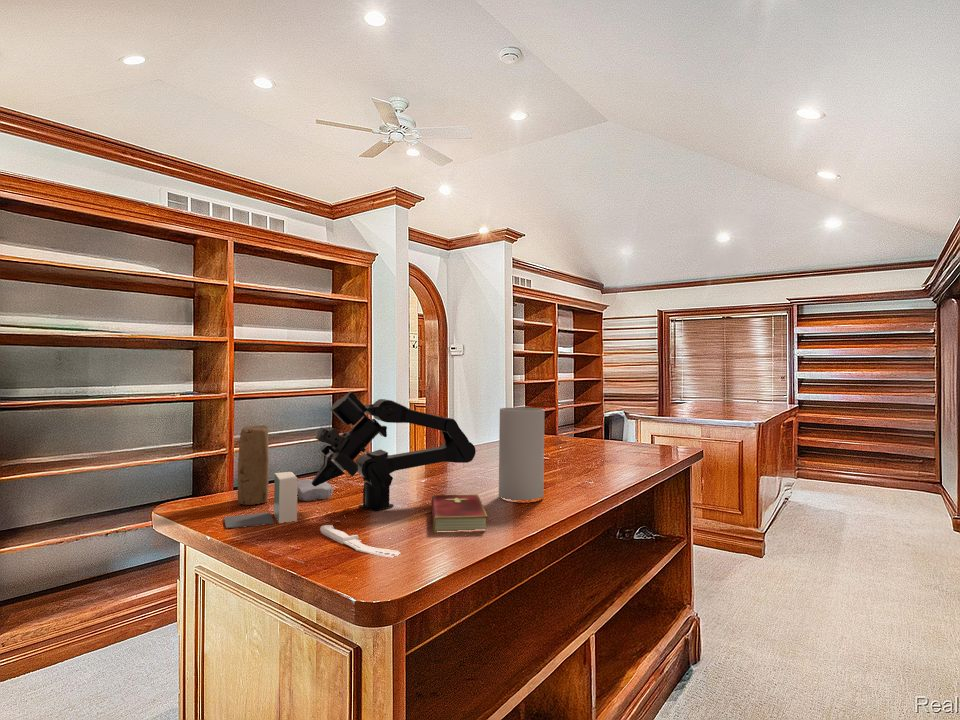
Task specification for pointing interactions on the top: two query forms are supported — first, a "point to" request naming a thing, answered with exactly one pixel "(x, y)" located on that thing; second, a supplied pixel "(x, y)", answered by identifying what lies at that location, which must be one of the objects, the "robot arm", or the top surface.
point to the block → (253, 465)
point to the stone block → (313, 490)
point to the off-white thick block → (285, 497)
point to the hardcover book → (457, 513)
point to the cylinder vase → (521, 453)
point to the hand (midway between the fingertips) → (312, 485)
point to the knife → (354, 542)
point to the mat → (248, 520)
